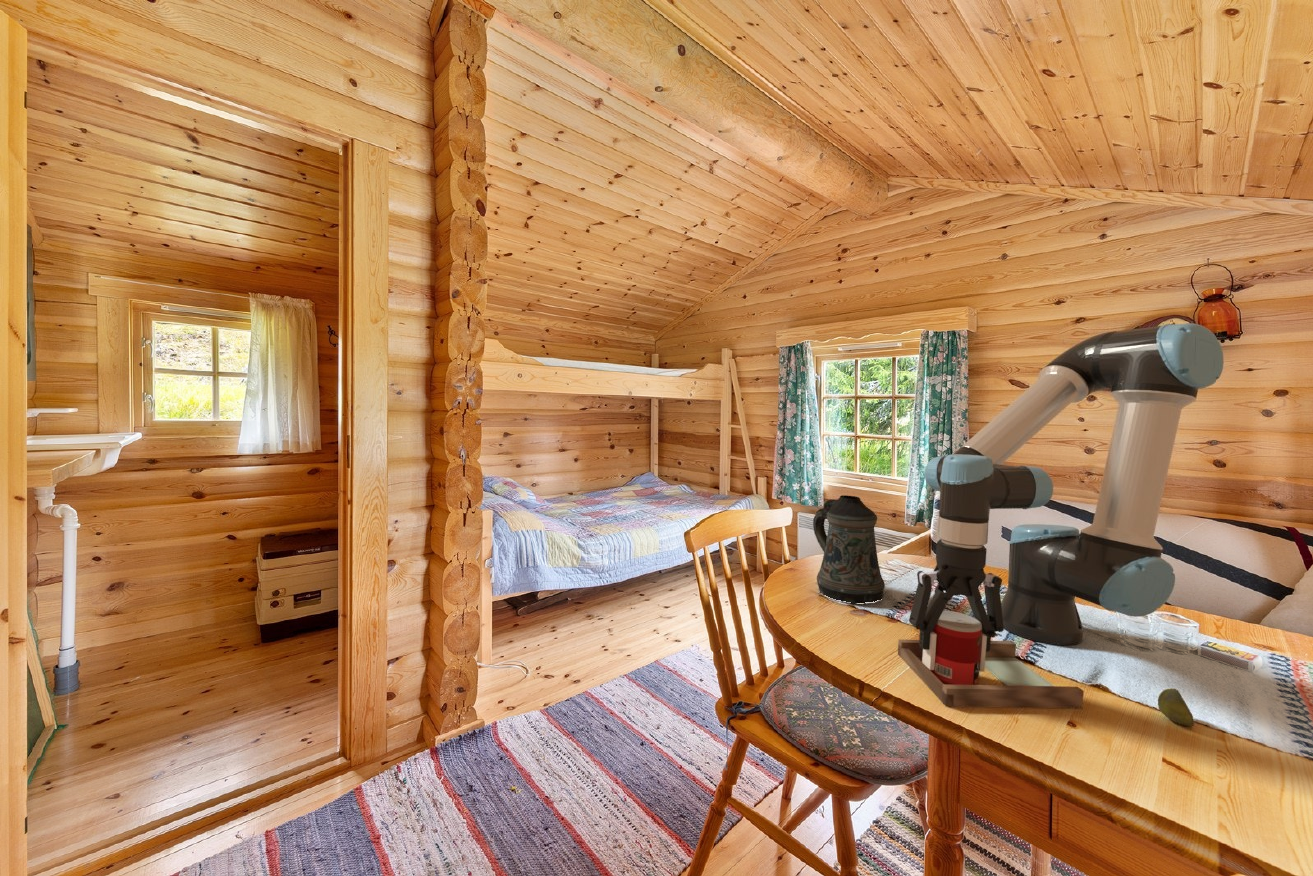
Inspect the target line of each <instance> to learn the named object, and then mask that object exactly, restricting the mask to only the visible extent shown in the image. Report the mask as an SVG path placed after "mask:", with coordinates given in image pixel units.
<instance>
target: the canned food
mask: <svg viewBox="0 0 1313 876" xmlns="http://www.w3.org/2000/svg"><path fill="white" fill-rule="evenodd" d="M933 632H934V633H936V634H937V636H936V651H935V666H934V670H930V669H929V668H928V667H927V666H926V667H927V668H928V669H929V670H930V671H931V672H932V673H933V674H934V675H935V676H936V677H937V678H938V679H939V680H940V681H941V682H942V683H943V684H944V685H978V684H979V679H980V671H979V667H980V651H981V636H982V624H981V622H980V621H978V620H977V619H975V618H974V616H972V615H971V616H970V615H968V614H966V613H962V612H958V611H952V610H943V612H942V614H941V616H940V618H939V620H938V621H937V623H936V625H935V627H934V629H933Z"/></svg>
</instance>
